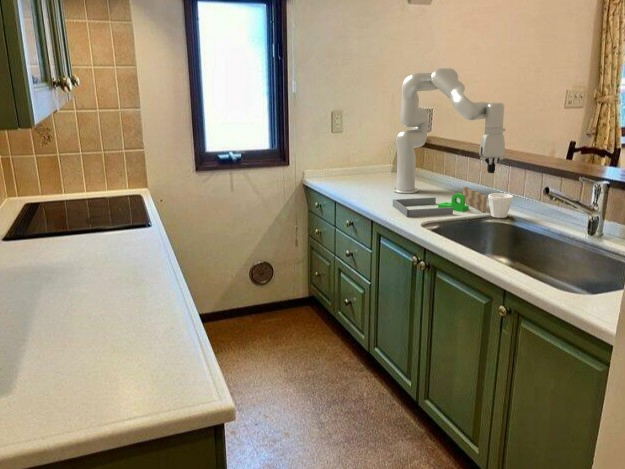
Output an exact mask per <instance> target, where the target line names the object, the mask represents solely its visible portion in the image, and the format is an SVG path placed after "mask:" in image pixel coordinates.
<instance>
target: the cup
mask: <svg viewBox="0 0 625 469" xmlns="http://www.w3.org/2000/svg"><path fill="white" fill-rule="evenodd" d="M487 200H488V203H489V210H490V216H491V217H492V218H494V219H506V218H507V217H508V214H509V211H510V208H511V206H512V203H513V200H514V195H513V194H510V193H503V192H494V193H489V194H488V196H487Z"/></svg>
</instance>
